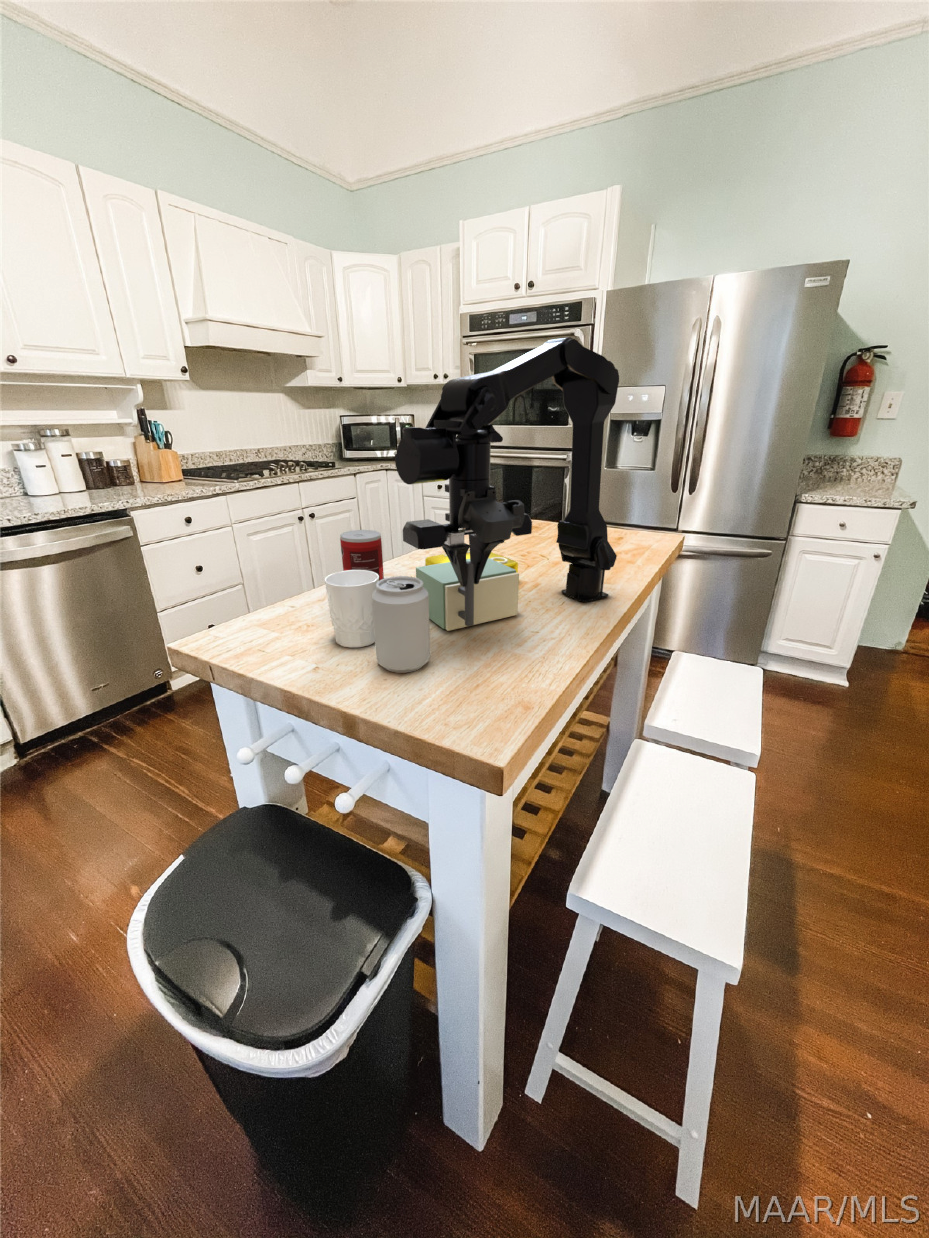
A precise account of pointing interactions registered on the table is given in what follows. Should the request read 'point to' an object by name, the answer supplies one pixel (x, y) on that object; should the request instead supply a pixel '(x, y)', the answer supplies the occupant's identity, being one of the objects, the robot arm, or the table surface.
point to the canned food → (362, 551)
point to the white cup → (352, 606)
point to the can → (401, 623)
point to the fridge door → (481, 599)
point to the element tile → (493, 556)
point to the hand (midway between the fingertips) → (469, 584)
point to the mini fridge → (445, 575)
